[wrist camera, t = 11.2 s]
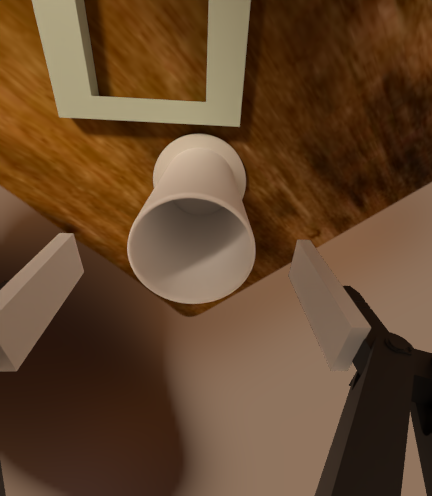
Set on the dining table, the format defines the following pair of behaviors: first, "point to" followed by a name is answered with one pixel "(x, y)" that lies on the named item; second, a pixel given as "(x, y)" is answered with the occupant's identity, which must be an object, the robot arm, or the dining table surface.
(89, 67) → the pale green rectangular frame
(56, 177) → the dining table surface
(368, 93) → the dining table surface
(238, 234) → the cup
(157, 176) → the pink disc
